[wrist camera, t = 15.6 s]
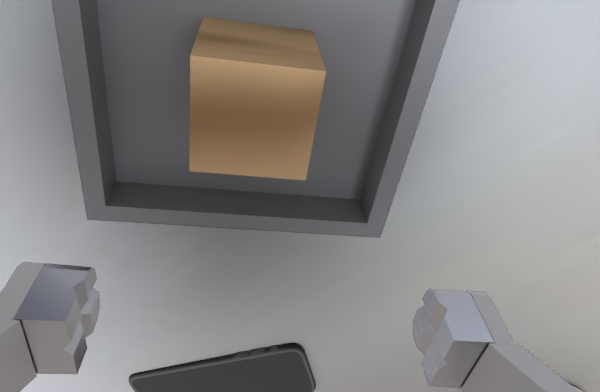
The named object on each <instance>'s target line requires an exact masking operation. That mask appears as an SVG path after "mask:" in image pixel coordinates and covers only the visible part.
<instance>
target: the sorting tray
mask: <svg viewBox="0 0 600 392" xmlns="http://www.w3.org/2000/svg"><path fill="white" fill-rule="evenodd" d="M459 1H460V0H52V6H53V12H54V18H55V24H56V30H57V36H58V43H59V49H60V55H61V61H62V67H63V73H64V79H65V85H66V92H67V98H68V104H69V110H70V116H71V122H72V128H73V134H74V141H75V147H76V153H77V159H78V165H79V171H80V177H81V183H82V190H83V196H84V202H85V208H86V214H87V220H103V221H119V222H136V223H152V224H168V225H184V226H200V227H216V228H232V229H248V230H265V231H281V232H297V233H313V234H329V235H345V236H361V237H377V238H380V237H381V234H382V231H383V228H384V225H385V222H386V219H387V216H388V213H389V210H390V207H391V204H392V201H393V198H394V195H395V192H396V189H397V186H398V183H399V180H400V177H401V174H402V171H403V168H404V165H405V162H406V159H407V156H408V153H409V150H410V147H411V144H412V141H413V138H414V135H415V132H416V129H417V126H418V123H419V120H420V117H421V114H422V111H423V108H424V105H425V102H426V99H427V96H428V93H429V90H430V87H431V84H432V81H433V78H434V75H435V72H436V69H437V67H438V64H439V61H440V58H441V55H442V52H443V49H444V46H445V43H446V40H447V37H448V34H449V31H450V28H451V25H452V22H453V19H454V16H455V13H456V10H457V7H458V4H459ZM203 17H211V18H219V19H226V20H234V21H242V22H249V23H257V24H265V25H272V26H280V27H288V28H296V29H303V30H311V31H313V32H314V35H315V38H316V41H317V45H318V48H319V51H320V54H321V57H322V60H323V63H324V66H325V69H326V75H325V81H324V86H323V91H322V97H321V102H320V107H319V112H318V118H317V123H316V128H315V134H314V139H313V144H312V150H311V155H310V160H309V165H308V171H307V176H306V180H294V179H282V178H269V177H257V176H244V175H231V174H219V173H206V172H194V171H189V164H190V55H191V52H192V49H193V46H194V43H195V40H196V37H197V34H198V31H199V28H200V25H201V22H202V19H203Z"/></svg>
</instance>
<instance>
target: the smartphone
mask: <svg viewBox="0 0 600 392" xmlns="http://www.w3.org/2000/svg"><path fill="white" fill-rule="evenodd" d="M129 383H130V385H131V387H132V388H133V389H134V391H135V392H314V390H315V387H316V383H315V380H314V377H313V374H312V372H311V369H310V366H309V363H308V360H307V357H306V354H305V351H304V349H303V348H302V347H301V346H300V345H299V344H296V343H289V344H283V345H278V346H277V345H276V346H271V347H267V348H260V349H254V350H251V351H244V352H238V353H235V354H231V355H226V356H220V357H215V358H210V359H205V360H200V361H195V362H190V363H185V364H180V365H174V366H169V367H164V368H159V369H154V370H149V371H144V372H139V373H135V374H132V375H131V376H130V377H129Z"/></svg>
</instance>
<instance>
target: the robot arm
mask: <svg viewBox="0 0 600 392" xmlns="http://www.w3.org/2000/svg"><path fill="white" fill-rule="evenodd" d="M96 279H97V278H96V273H95V269H94V268H92V267H81V266H70V265H58V264H43V263H31V262H23V263H22V264H20V265H19V266H18V267H17V268H16V270H15V271H14V273H13V274H12V276H11V278H10V279H9V281H8V282H7V284H6V285H5V287H4V289H3V290H2V292H1V293H0V392H20V391H21V390H22V389H23V388H24V387H25V386H26V385H27V384H28V383H30V382H31V381H32V380H33V379H34V378H35V377H36V376H37V375H36V374H77V373H78V371H79V368H80V365H81V363H82V360H83V358H84V355H85V352H86V350H87V345H86V340H85V338H86V337H87V336H88V335H90V334H91V333H92V332H93V331H94V328H95V325H96V323H97V319H98V314H99V307H100V298H99V292H98V291H97V290H96V289H95V288H93V287H94V284H95V282H96ZM423 302H424V305H425V306H423V307H422V308H420V309H419V310H417V312H416V315H415V317H414V320H413V336H414V341H415V344H416V347H417V348H418V349H419V350H420V351H421V352H422V353H423V354H424V357H423V359H422V361H421V364H422V367H423V370H424V373H425V376H426V379H427V382H428V386H436V387H452V388H461V391H462V392H582V391H581V390H580V389H578V388H576V387H574V386H571V385H570V384H569V383H568V382H566V381H565V380H564V379H563V378H561V377H560V376H559V375H558V374H556V373H555V372H554V371H553V370H551V369H550V368H549V367H548V366H546V365H545V364H544V363H543V362H541V361H540V360H539V359H538V358H537V357H535V356H534V355H533V354H532V353H530V352H529V351H528V350H527V349H525V348H524V347H523V346H522V345H516V344H515V343H514V341H513V339H512V337H511V335H510V333H509V331H508V330H507V328H506V326H505V324H504V322H503V320H502V318H501V316H500V314H499V312H498V311H497V309H496V307H495V305H494V303H493V301H492V299H491V297H490V296H489V295H488V294H487V293H486V292H477V291H461V290H442V289H429V290H427V291H426V292H425V294H424V296H423Z"/></svg>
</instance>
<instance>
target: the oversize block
mask: <svg viewBox="0 0 600 392" xmlns="http://www.w3.org/2000/svg"><path fill="white" fill-rule="evenodd" d="M325 75H326V69H325V66H324V63H323V60H322V57H321V54H320V51H319V48H318V45H317V41H316V38H315V35H314V32H313V31H311V30H303V29H296V28H288V27H280V26H272V25H265V24H257V23H249V22H242V21H234V20H226V19H219V18H211V17H203V19H202V22H201V25H200V28H199V31H198V34H197V37H196V40H195V43H194V46H193V49H192V52H191V55H190V164H189V171H194V172H206V173H219V174H231V175H244V176H257V177H269V178H282V179H294V180H306V176H307V171H308V165H309V160H310V155H311V150H312V144H313V139H314V134H315V128H316V123H317V118H318V112H319V107H320V102H321V97H322V91H323V86H324V81H325Z"/></svg>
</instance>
